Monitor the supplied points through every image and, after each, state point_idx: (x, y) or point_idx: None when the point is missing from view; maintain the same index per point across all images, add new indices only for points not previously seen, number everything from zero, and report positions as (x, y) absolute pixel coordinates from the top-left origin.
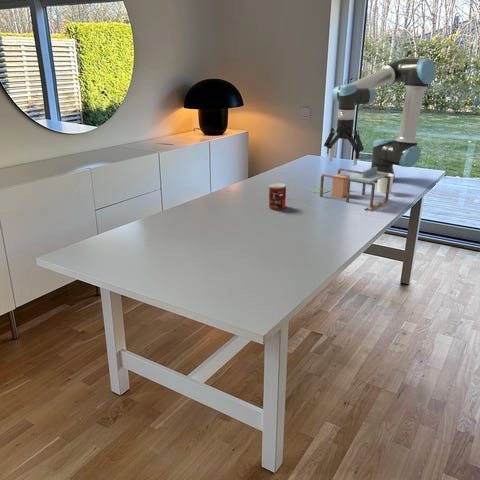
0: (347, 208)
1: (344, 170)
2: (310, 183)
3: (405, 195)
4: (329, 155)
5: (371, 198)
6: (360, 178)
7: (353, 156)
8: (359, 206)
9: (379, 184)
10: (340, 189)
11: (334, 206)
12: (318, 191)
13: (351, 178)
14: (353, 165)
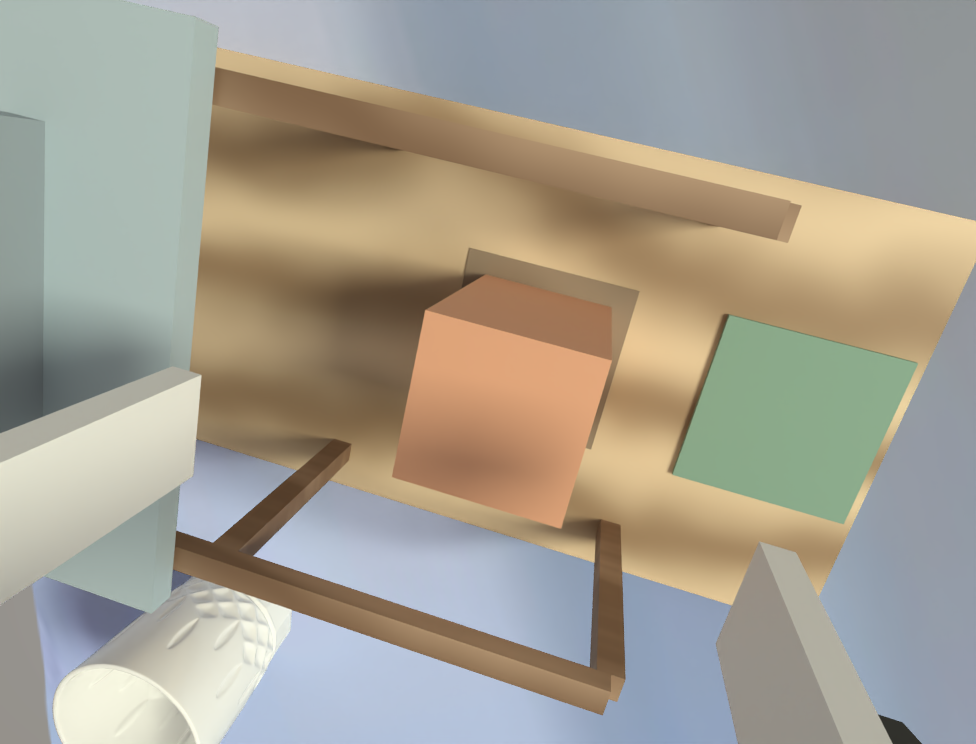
0: (360, 10)
1: (518, 651)
2: (971, 734)
3: (101, 604)
4: (809, 645)
5: None
6: (42, 41)
7: (32, 449)
8: None
9: (216, 620)
10: (500, 294)
11: (497, 8)
12: (794, 384)
13: (180, 16)
14: (177, 368)
